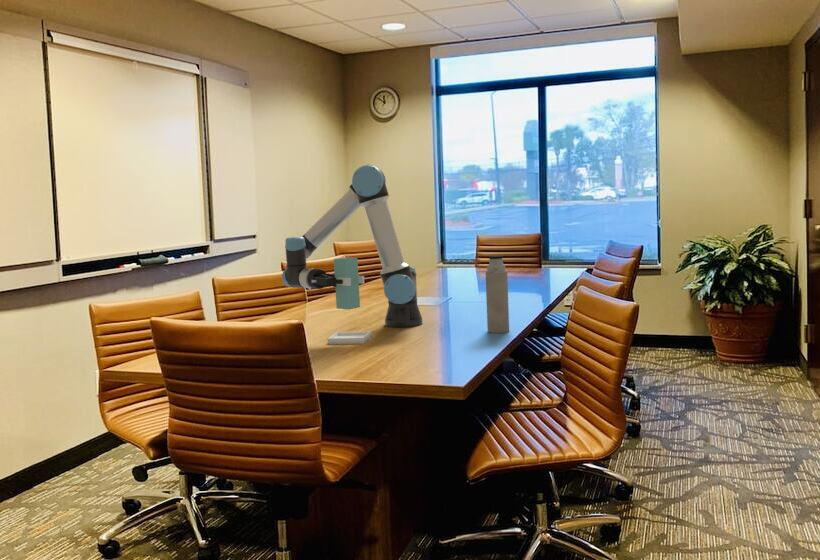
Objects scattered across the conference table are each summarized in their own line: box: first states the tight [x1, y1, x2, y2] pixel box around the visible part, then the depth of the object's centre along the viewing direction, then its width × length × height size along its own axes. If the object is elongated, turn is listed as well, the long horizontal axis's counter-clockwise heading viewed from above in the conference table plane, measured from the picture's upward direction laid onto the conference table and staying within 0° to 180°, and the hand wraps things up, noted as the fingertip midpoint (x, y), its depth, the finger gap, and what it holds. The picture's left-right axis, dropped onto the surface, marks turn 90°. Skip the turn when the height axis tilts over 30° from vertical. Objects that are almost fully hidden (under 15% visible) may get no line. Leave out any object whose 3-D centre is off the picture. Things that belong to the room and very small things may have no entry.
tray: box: [326, 330, 373, 345], centre depth 271 cm, size 13×13×2 cm
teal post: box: [333, 257, 361, 310], centre depth 269 cm, size 6×6×18 cm
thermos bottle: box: [485, 255, 510, 334], centre depth 274 cm, size 8×8×28 cm
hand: (356, 280), depth 265 cm, fingers closed on teal post, 6 cm apart
